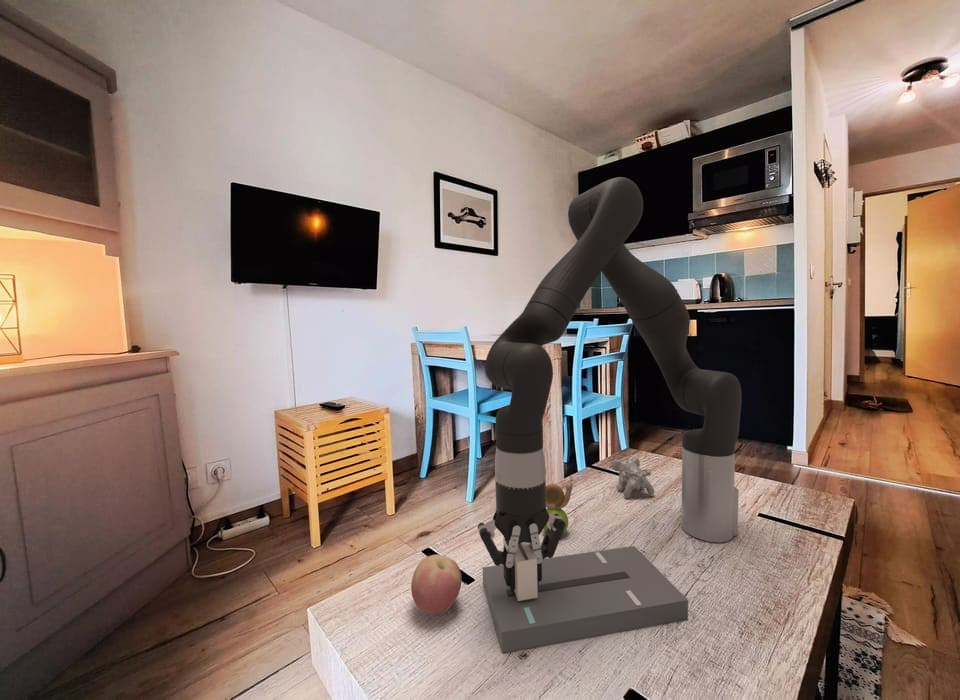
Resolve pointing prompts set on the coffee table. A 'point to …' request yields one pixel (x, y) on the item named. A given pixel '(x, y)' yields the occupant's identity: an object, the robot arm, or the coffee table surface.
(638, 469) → the grey animal figurine
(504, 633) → the fader console
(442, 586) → the apple
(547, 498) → the snail figurine
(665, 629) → the coffee table surface
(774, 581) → the coffee table surface
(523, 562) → the fader
